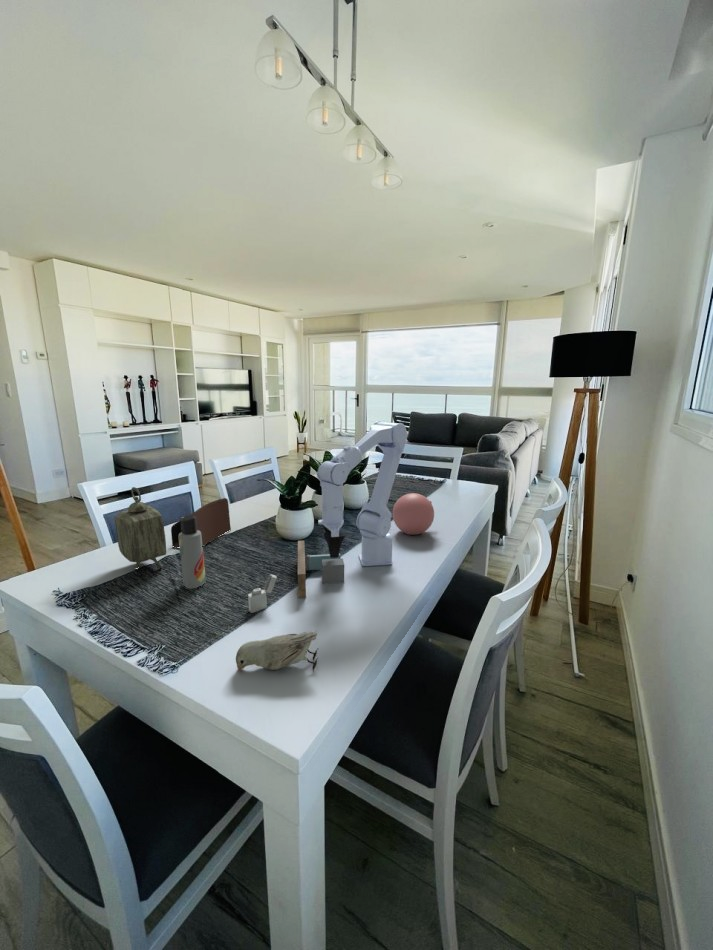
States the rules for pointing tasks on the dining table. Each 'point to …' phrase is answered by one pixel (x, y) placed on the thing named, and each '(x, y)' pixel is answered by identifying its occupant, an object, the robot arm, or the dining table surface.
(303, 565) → the wooden plank
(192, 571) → the lotion bottle
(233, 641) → the dining table surface
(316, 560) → the door
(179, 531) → the letter holder
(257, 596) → the lighter
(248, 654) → the decorative bird
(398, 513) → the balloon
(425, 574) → the dining table surface
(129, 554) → the tabletop clock
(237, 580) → the dining table surface
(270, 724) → the dining table surface
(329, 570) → the block
